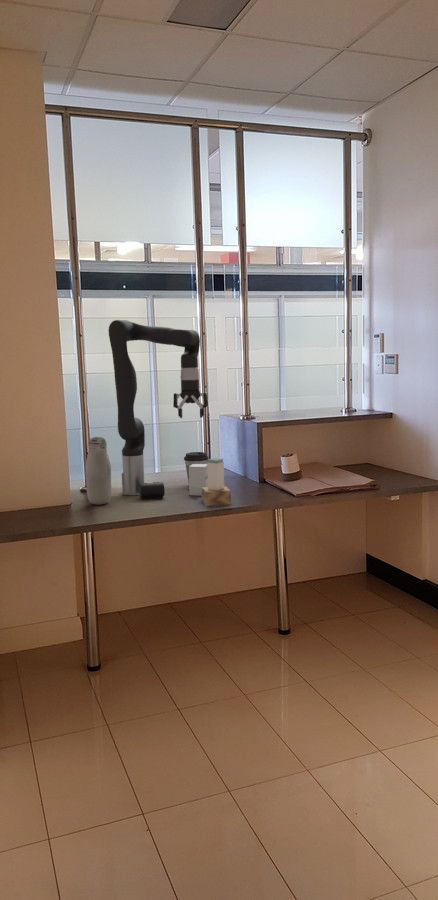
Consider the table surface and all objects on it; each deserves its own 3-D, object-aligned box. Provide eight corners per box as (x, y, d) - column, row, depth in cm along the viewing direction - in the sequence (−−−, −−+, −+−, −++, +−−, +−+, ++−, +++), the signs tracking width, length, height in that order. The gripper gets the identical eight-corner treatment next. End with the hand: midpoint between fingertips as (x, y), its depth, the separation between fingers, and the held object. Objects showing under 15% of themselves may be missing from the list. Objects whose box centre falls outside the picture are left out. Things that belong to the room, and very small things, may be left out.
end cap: (141, 501, 297) (140, 485, 296) (138, 497, 304) (138, 482, 303) (165, 499, 300) (164, 483, 299) (161, 495, 307) (161, 480, 306)
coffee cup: (213, 486, 322) (212, 454, 320) (189, 489, 318) (188, 456, 316) (204, 482, 332) (203, 450, 330) (181, 484, 328) (180, 452, 326)
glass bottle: (84, 507, 289) (80, 438, 284) (92, 501, 299) (88, 435, 294) (108, 507, 287) (104, 438, 283) (115, 501, 297) (111, 435, 293)
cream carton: (217, 490, 286) (216, 460, 284) (207, 489, 289) (207, 459, 287) (224, 488, 290) (223, 458, 288) (214, 486, 293) (214, 457, 291)
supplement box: (205, 495, 304) (204, 466, 302) (189, 495, 305) (188, 466, 303) (209, 492, 311) (208, 463, 309) (193, 491, 312) (192, 463, 310)
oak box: (206, 506, 284) (206, 492, 283) (202, 501, 294) (201, 487, 293) (231, 505, 286) (230, 490, 285) (225, 499, 296) (225, 485, 295)
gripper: (208, 377, 295) (209, 416, 298) (174, 378, 297) (176, 417, 300) (205, 378, 288) (206, 418, 290) (171, 379, 290) (172, 418, 292)
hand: (191, 417), depth 295 cm, fingers open, 8 cm apart
